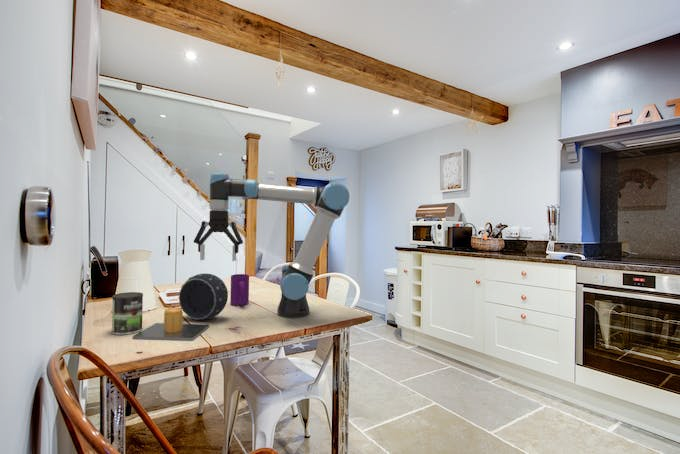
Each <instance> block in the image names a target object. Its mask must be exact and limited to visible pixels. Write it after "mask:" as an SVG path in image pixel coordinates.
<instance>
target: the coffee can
mask: <svg viewBox="0 0 680 454" xmlns="http://www.w3.org/2000/svg"><path fill="white" fill-rule="evenodd" d="M143 296H144V293H143V292H139V291H138V292H135V291H130V292H120V293H116V294H113V295H112V296H111V298H112V309H111V311H112V312H111V313H112V316H111V317H112V321H111V325H112V327H111V334H113V335H118V336H121V335H122V336H124V335H132V334H137V333H139V332H141V331H143V305H144V304H143V301H144V300H143Z"/></svg>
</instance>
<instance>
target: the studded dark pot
mask: <svg viewBox="0 0 680 454" xmlns="http://www.w3.org/2000/svg"><path fill="white" fill-rule="evenodd" d="M228 291H229V290H228V288H227V286H226V283H225V282H224V281H223V279H221V278H220V277H219V276H217V275H215V274H212V273H198V274H195V275H193V276H190V277H188V279H187V280H185V282H184V283H183V284H182V285H181V287H180V290H179V293H178V295H179V296H178V300H179V305H180V308H182V311H183V313H185V315H186V316H187V317H189V318H191V319H193V320H196V321H200V322H201V321H206V320H211V319H214V317H216V316H219V314H221V312H223V310H224V309H225V307H226V305H227V303H228V301H229V300H228V298H229V292H228Z"/></svg>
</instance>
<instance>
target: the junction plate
mask: <svg viewBox="0 0 680 454" xmlns="http://www.w3.org/2000/svg"><path fill="white" fill-rule="evenodd" d="M209 328H210V324H200V323H199V324H198V323H197V324H196V323H182V330H181V331H179V332H174V333H167V332H165V331H164V322H163V323H162V322H161V323H160V322H156V323H153V324H152V325H150V326H148V327H147V328H145V329H142V330H141V331H139V332H136V333H135V334H134V335H132V339H133V340H155V341H156V340H157V341H159V340H160V341H188V342H189V341H190V342H192V341H195V339H197V338H198V337H200V335H202V334H203V333H204V332H205V331H206V330H208V329H209Z"/></svg>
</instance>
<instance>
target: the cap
mask: <svg viewBox="0 0 680 454" xmlns="http://www.w3.org/2000/svg"><path fill="white" fill-rule="evenodd" d="M163 313H164V314H163V323H164V331H165V332H167V333H174V332H179V331H181V330H182V324H183V317H184V315H183V313H184V311H183V310H182V308H181V307H170V308H166V309H165V310H164V312H163Z"/></svg>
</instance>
